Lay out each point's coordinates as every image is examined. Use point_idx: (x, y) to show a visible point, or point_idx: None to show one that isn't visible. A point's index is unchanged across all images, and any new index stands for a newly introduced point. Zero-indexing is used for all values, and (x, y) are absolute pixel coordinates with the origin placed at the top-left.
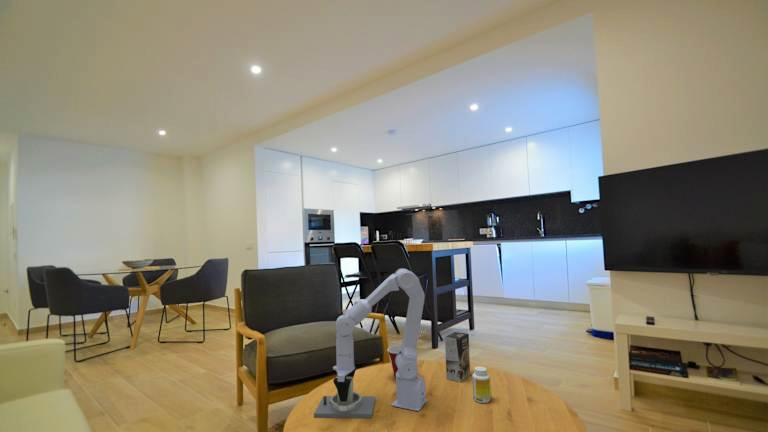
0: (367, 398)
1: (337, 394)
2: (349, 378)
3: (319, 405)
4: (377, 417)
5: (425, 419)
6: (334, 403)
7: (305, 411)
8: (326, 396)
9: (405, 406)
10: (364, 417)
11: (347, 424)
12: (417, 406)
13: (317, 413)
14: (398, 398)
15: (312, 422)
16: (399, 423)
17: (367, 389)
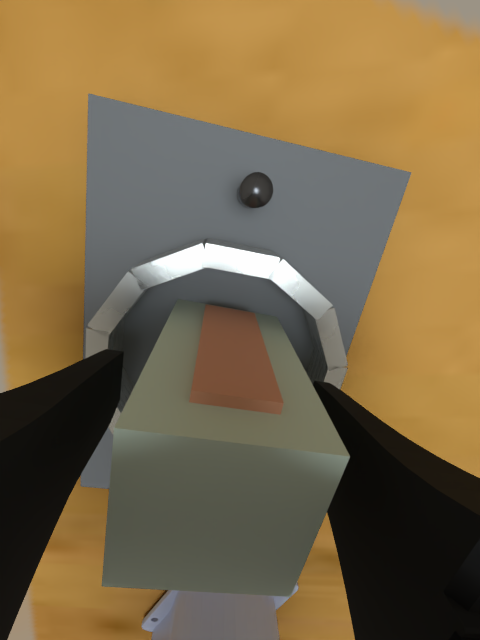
0: None
1: (159, 339)
2: (236, 568)
3: (238, 141)
4: (98, 490)
5: (80, 630)
6: (129, 290)
7: (218, 3)
8: (392, 200)
9: (176, 595)
10: None
11: (15, 354)
12: (154, 636)
13: (89, 131)
14: (198, 611)
15: (23, 97)
16: (43, 561)
17: (432, 453)
